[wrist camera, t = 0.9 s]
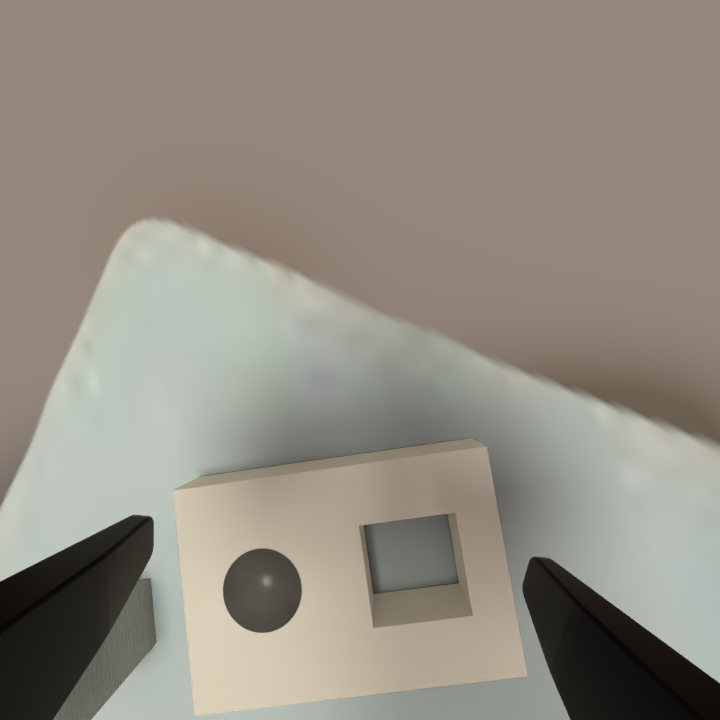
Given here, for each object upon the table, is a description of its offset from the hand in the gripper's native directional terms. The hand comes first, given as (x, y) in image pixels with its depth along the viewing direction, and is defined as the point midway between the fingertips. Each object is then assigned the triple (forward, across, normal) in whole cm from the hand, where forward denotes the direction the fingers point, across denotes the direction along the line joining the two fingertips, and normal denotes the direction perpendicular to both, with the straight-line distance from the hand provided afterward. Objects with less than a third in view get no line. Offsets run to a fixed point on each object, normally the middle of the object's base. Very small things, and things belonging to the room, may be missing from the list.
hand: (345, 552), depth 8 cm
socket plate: (+12, -1, +10) cm, 16 cm away
